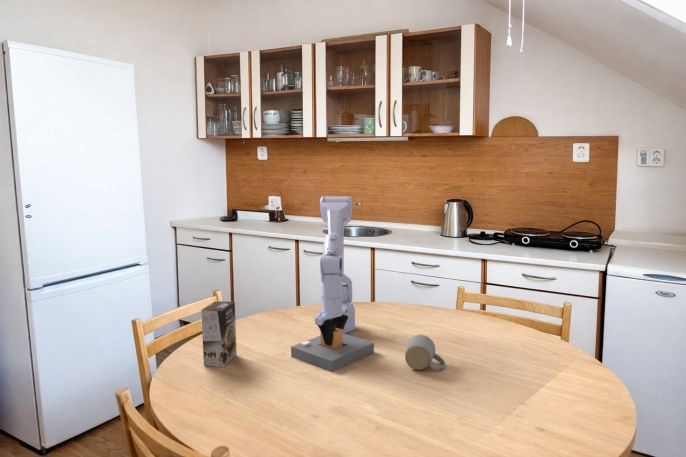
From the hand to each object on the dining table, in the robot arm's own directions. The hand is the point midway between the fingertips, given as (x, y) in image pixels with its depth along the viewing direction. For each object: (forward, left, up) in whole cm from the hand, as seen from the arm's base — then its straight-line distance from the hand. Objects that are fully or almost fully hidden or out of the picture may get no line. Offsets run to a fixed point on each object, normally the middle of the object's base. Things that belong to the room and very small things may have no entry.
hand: (332, 342), depth 154 cm
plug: (0, 0, -2) cm, 2 cm away
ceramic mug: (-11, +24, -4) cm, 27 cm away
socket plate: (0, 0, -4) cm, 4 cm away
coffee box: (+24, -21, -4) cm, 32 cm away
